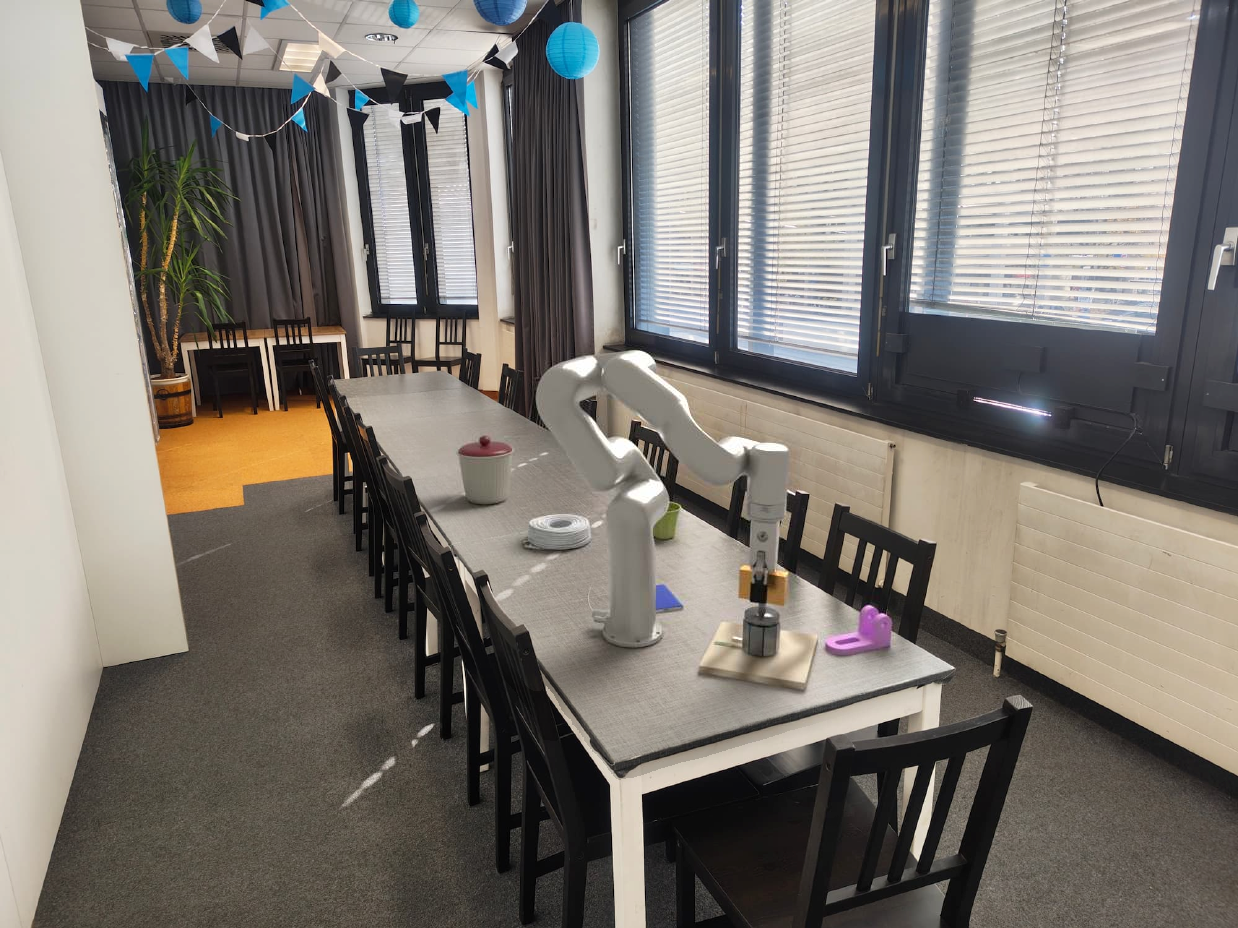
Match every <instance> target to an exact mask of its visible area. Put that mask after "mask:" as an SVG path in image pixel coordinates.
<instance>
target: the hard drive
mask: <svg viewBox="0 0 1238 928" xmlns="http://www.w3.org/2000/svg"><path fill="white" fill-rule="evenodd" d="M684 608H685V607H684V605H683V604H682V603H681V602H680V600H678V598H677V597H676V596H675V595H674V594H673V593H672V591H671V590H670V588H668V586H667V585H666V584H663V583H662V584H656V614H657V613H658V614H659V613H664V612H673V611H679V610H680V611H681V610H684Z"/></svg>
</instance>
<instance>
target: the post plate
mask: <svg viewBox="0 0 1238 928" xmlns="http://www.w3.org/2000/svg"><path fill="white" fill-rule="evenodd" d="M733 636H734V637H739V638H742V637H743V623H742V624H741V623H734V622H728V621H722V622H721V623H720V625H719V627H718V629H717V631H716V632H715V634H714V636H713V638H712V640H711V642H710V644H709V646H708V647H707V649H706V651H705V652H704V655H703V657H702V658H701V661H700V662H699V665H698V673H700V674H705V675H709V676H710V675H711V676H717V677H723V678H730V679H734V680H735V679H736V680H742V681H748V682H753V683H758V684H765V685H771V686H777V687H782V688H790V689H795V690H800V691H805V690H806V688H807V684H808V680H809V677H810V676H809V675H810V672H811V668H812V665H813V662H814V656H815V653H816V649H817V645H818V640H819V639H818V638H819V636H818V635H817V634H810V633H803V632H796V631H790V630H783V629H780V643H779V650H778V651H777V653H776V654H775V655H769V656H764V657H763V656H757V655H752V654H749V653H747V652H746V651H745V650H744V649H743V648H742V644H740V643H736V642H732V638H733Z"/></svg>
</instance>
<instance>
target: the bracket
mask: <svg viewBox="0 0 1238 928" xmlns="http://www.w3.org/2000/svg"><path fill="white" fill-rule="evenodd" d="M858 618H859V619H858V630H857V631H854V632H850V633H849V632H848V633H843V634H840V635H839V634H838V635H833V636H830V637H827V638H826V639H825V647H824V648H825V649H826V651H828V652H829V653H831V654H834V655H838V656H848V655H851V654H852V655H853V654H856V653H857V654H858V653H862V652H867V651H871V650H875V649H881V648H885V647H886V648H887V647H890V646H891V638H892V626H893V621H892V617H890V616H888V615H887V614H885V613H882V612H881V613H880V612H879V610H878V609H877V608H876V607H874V606H873V605H870V604H868V605H865V606H864V607H862V608H861V610H860V612H859V617H858Z"/></svg>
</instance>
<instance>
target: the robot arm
mask: <svg viewBox="0 0 1238 928" xmlns="http://www.w3.org/2000/svg"><path fill="white" fill-rule="evenodd" d="M657 366H658V365H657V364H656V362H655V360H654V358H653V357H652V356H651V355H650V354H648V353H647V352H645V351H642V350H636V349H634V350H627V351H618V352H611V353H610V352H609V353H599V354H592V355H591V354H589V355H582V356H580V357H575V358H572V359H569V360H565V361H561V362H559V363H557V364H555V365H553V366H551V367H550V368H549V369H547V370H546V372H545V373H543V375H542V376H541V378H540V380H539V382H538V385H537V388H536V393H535V403H536V409H537V412H538V415H539V416H540V419H541V421H542V422H543V424H544V425H545V427H546V428H547V429H548V431H549V432H550V433H551V435H552V436H553V437H554V438H555V440H556V441H557V442H558V444H559V445H560V447H561V448H562V451H564V454H566V456H567V458H568V459H569V461H570V462H571V464H572V465H573V466H574V468H575V469H576V471H577V472H578V473H579V475H580V476H581V478H582V479H583V480H584V482H585V484H586V485H587V487H589V488H590V489H592V490H593V491H594V492H595V491H596V492H597V493H604V492H605V493H606V492H608V491H611V490H613V489H616V490H617V492H618V493H617V494H616V495H615V496H614V497H613V498H612V499H611V500H610V502H609V504H608V505H607V508H606V512H605V521H604V522H605V529H606V533H607V541H608V552H609V555H608V556H609V557H608V558H609V562H608V563H609V565H608V566H609V609H607V610H604V609H600V608H593V609H592V612H591V613H592V615H591V616H592V618H593V622H594V623H598V624H600V623H601V624H604V625H603V627H602V636H603V638H604V639H605V640H606V641H607V642H608V643H610V644H613V645H615V646H618V647H623V648H643V647H648V646H650V645H651V646H652V645H653V644H656V643H657V642H659V641H660V640H661V639H662V638H663V634H664V629H663V626H662V625H661V624H660V623H659V622H658V621H656V615H657V613H656V585H657V578H656V577H657V573H656V572H657V555H656V553H657V551H656V545H655V539H654V536H653V526H654V525H655V524H656V523H657V522H658V521H659V520H660V519H661V518H662V517H663V516H664V515H665V513H666V512H667V510H668V507H669V502H670V496H669V493H668V491H667V488H666V485H664V483H663V481H662V480H661V478H660V477H659V476H658V474H657V473H656V471H655V470H654V468H653V467H652V466H651V464H650V463H649V461H648V460H647V458H646V456H645V455H644V454H643V453H642V451H641V450H640V449H639V448H638V446H637V445H636V444H634V443H633V441H631V440H630V439H627V438H625V437H622V436H611V437H608V438H607V437H606V435H605V434H604V433H603V432H602V430H601V429H600V427H599V426H598V423H597V422H596V421H595V420H594V418H592V416H590V415H589V414H588V413H587V412H586V411H585V410H583V409H582V407H581V406H580V402H581V401H584V400H587V399H589V398H592V397H595V396H601V395H611V396H612V397H613V398H614V399H616V400H617V401H619V403H621V404H622V405H623V406H625V407H626V408H627V409H629V410H630V411H631V412H632V413H634V414H635V415H636V416H637V417H639V418H640V419H641V420H643V421H644V422H645V423H647V425H649V426H650V427H651V428H653V429H654V430H655V431H656V432H657V433H658V435H659V436H660V438H661V440H662V442H663V443H664V444H665V446H666V447H667V449H668V450H669V451H670V452H671V454H672V455H673V457H675V458H676V459H677V460H678V461H679V462H680V463H681V464H682V465H683V466H685V468H687V469H688V470H689V471H691V472H692V473H693V474H694V475H696V476H697V477H698V478H699V479H702V480H703V481H704V482H706V483H708V484H710V485H712V486H715V487H721V488H722V487H727V486H731V485H732V484H733V483H735V482H736V481H737V480H738V479H739V478H740V477H741V476H742V477H743V476H746V478H747V480H746V481H747V484H746V497H745V513H744V514H745V516H746V518H748V519H750V521H751V522H750V534H749V535H750V536H749V566H750V568H751V569H752V570H753V574H752V582H751V585H750V600H749V603H754V604H759V603H761V604H766V605H767V604H768V603H767V591H768V583H767V574H768V570H769V571H772V572H775V571H776V570H777V564H778V554H779V543H780V542H779V541H780V531H781V530H780V529H781V528H780V527H781V523H780V522H782V521H784V520H785V519H786V515H787V514H786V513H787V502H788V499H787V498H788V488H789V487H788V486H789V485H788V484H789V475H790V474H789V473H790V472H789V471H790V463H791V461H790V460H791V454H790V453H791V452H790V450H789V448H788V447H787V446H786V445H784V444H780V443H775V442H758V441H754V440H751V439H747V438H744V437H739V436H733V435H732V436H726V437H724V438H722V439H721V440H719V441H718V442H717V441H716V440H715V439H714V438H712V437H711V436H709V435H708V434H707V433H706V432H705V431H703V429H701V427H699V425H698V424H697V423H696V422H695V420H694V419H693V417H692V414H691V412H690V410H689V409H690V408H689V404H688V401H687V399H686V396H684V394H682V393H681V392H680V391H678V390H677V389H676V388H674V387H673V386H672V385H671V384H669V383H668V382H666V380H664V379H663V378H662V377H660V376H659V375H658V367H657ZM763 572H765V574H763Z"/></svg>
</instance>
